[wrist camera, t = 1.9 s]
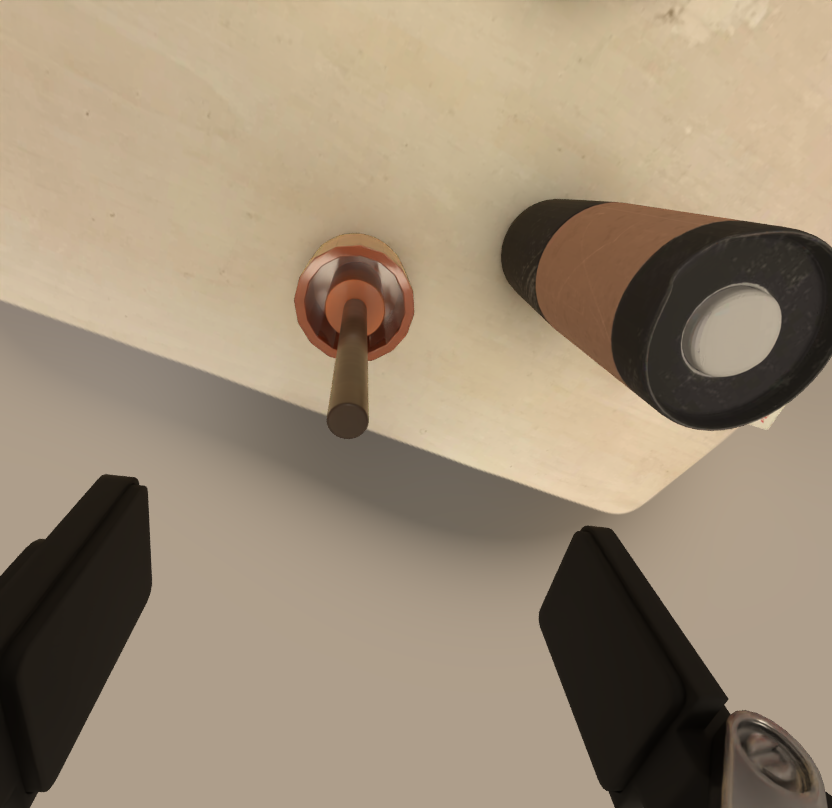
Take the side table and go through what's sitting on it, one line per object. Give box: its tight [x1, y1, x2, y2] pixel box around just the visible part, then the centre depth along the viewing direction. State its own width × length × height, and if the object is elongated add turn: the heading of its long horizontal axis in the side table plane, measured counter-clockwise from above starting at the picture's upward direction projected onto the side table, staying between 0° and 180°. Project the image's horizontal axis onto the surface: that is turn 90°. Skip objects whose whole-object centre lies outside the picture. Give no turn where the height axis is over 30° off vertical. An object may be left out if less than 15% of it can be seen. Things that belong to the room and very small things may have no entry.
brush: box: [325, 262, 385, 439], centre depth 24 cm, size 4×4×20 cm
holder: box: [294, 233, 414, 361], centre depth 31 cm, size 7×7×6 cm
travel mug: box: [501, 199, 832, 431], centre depth 25 cm, size 8×8×20 cm
